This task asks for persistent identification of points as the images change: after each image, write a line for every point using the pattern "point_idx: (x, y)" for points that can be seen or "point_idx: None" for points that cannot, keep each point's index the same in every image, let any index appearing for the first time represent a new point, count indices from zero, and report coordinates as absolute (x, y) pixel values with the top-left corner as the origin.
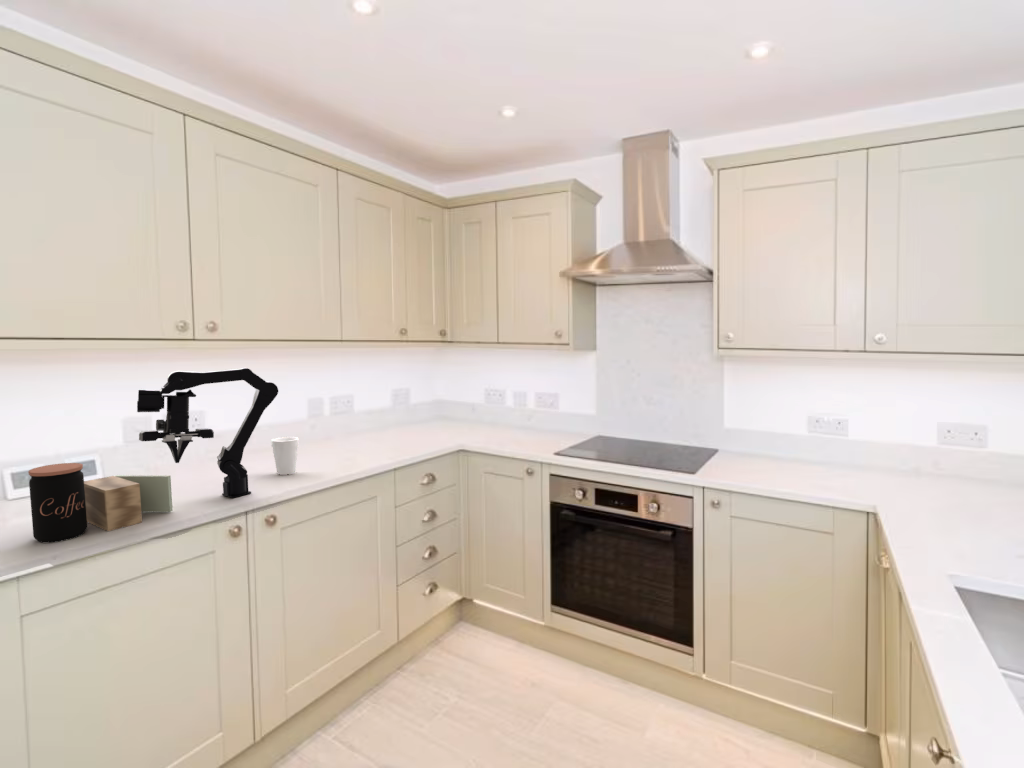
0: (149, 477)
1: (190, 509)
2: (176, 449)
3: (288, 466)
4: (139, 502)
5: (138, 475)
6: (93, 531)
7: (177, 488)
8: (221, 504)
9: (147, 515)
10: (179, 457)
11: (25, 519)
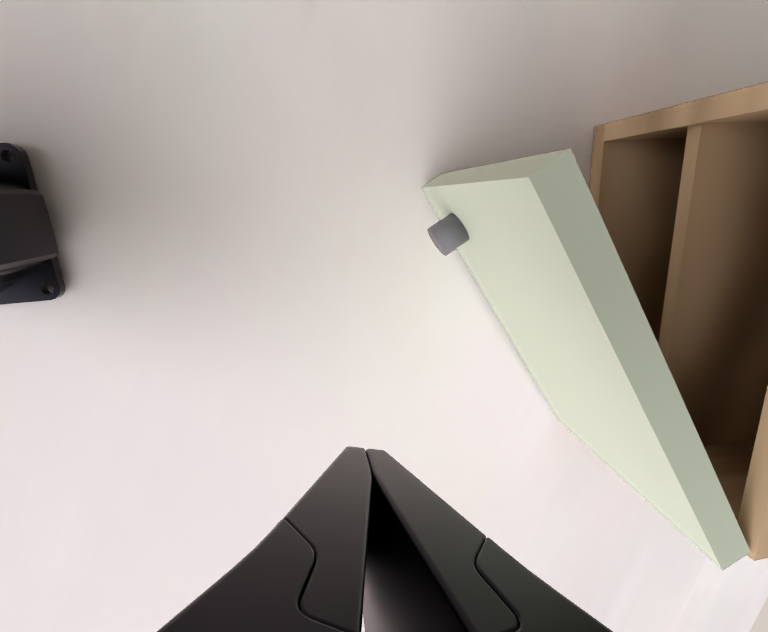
0: (640, 323)
1: (334, 142)
2: (465, 587)
3: None
4: (700, 102)
5: (668, 441)
6: None
7: None
8: (145, 68)
9: None
10: (352, 474)
11: None
